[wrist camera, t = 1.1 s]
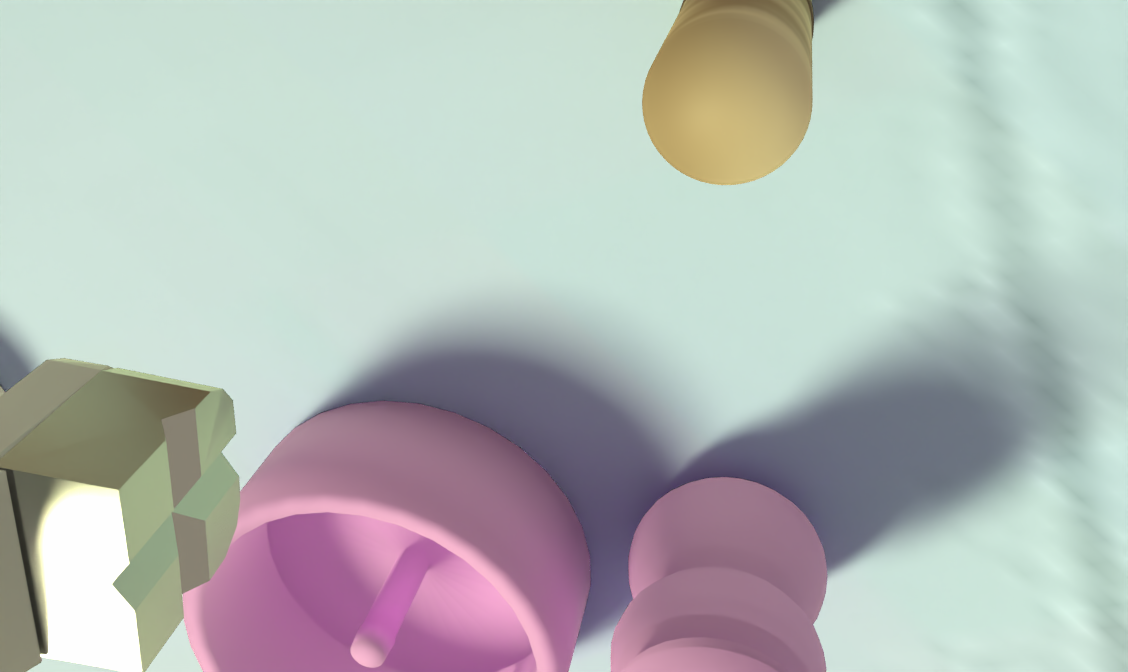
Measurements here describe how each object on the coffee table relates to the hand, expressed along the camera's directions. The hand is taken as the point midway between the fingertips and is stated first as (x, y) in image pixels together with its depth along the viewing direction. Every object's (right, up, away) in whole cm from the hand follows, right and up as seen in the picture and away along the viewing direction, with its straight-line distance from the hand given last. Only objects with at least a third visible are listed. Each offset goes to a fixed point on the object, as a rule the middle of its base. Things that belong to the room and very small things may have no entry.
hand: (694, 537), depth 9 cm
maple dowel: (+5, +12, +24) cm, 28 cm away
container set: (-3, -7, +37) cm, 37 cm away
